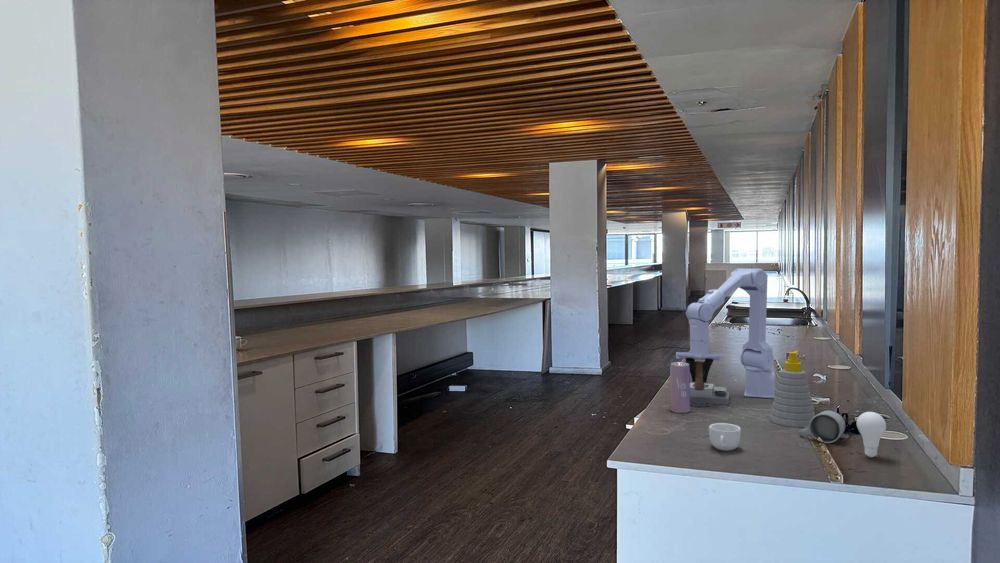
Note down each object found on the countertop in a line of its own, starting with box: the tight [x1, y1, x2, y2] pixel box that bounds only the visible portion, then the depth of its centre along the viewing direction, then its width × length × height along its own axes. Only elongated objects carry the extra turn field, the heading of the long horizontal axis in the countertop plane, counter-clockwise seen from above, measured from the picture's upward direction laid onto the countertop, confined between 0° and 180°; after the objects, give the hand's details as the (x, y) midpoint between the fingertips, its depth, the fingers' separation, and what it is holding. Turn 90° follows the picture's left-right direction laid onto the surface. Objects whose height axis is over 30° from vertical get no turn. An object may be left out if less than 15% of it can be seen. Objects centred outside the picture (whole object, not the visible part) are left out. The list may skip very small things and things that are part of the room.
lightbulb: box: [856, 411, 887, 458], centre depth 151 cm, size 6×6×11 cm
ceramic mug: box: [798, 410, 846, 444], centre depth 166 cm, size 11×8×8 cm
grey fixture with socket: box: [690, 382, 731, 406], centre depth 211 cm, size 13×11×5 cm
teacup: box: [708, 422, 742, 452], centre depth 159 cm, size 10×8×5 cm
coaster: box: [692, 402, 708, 408], centre depth 204 cm, size 5×5×1 cm
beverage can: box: [669, 361, 691, 414], centre depth 197 cm, size 6×6×15 cm
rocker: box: [714, 386, 728, 392], centre depth 210 cm, size 4×7×1 cm, turn 157°
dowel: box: [694, 360, 705, 391], centre depth 203 cm, size 3×3×9 cm
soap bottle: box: [769, 350, 816, 428], centre depth 183 cm, size 12×12×20 cm
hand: (699, 381), depth 203 cm, fingers closed on dowel, 3 cm apart
